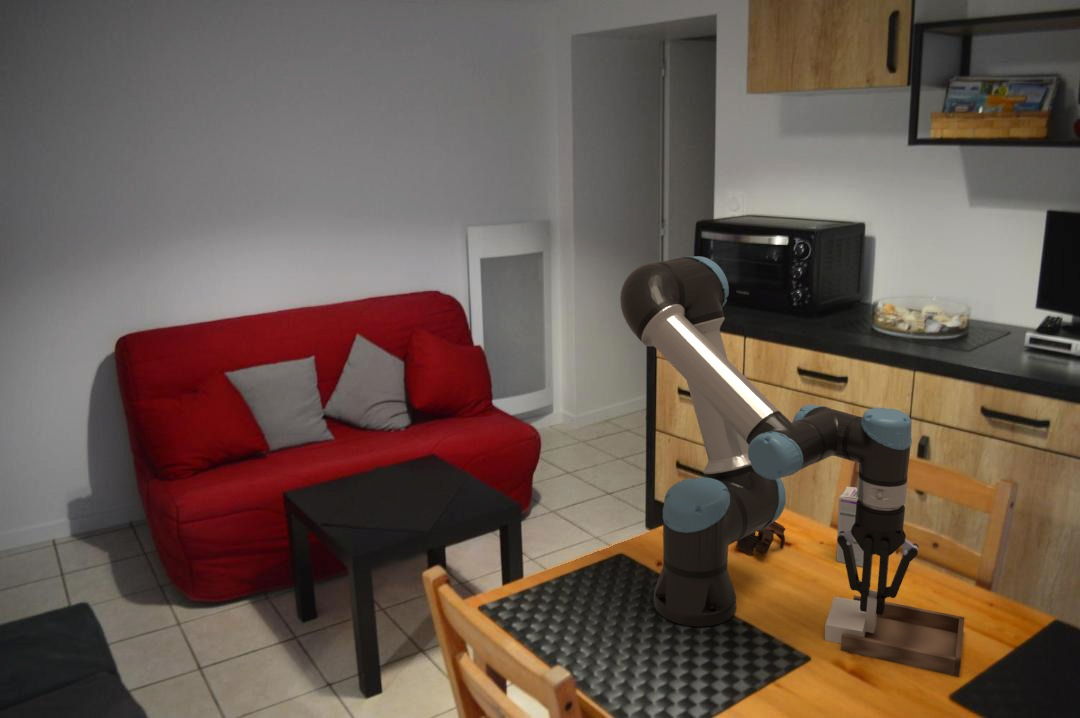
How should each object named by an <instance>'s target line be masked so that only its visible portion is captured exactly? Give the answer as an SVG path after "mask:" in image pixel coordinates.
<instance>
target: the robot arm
mask: <svg viewBox="0 0 1080 718" xmlns="http://www.w3.org/2000/svg"><path fill="white" fill-rule="evenodd" d="M728 282H729V281H728V279H727V277H726V275H725V273H724V271H723V269H722V267H720V266H719V265H718V264H717V263H716V262H715V261H712V260H711V259H709V258H708V257H705V256H698V255H697V256H696V255H695V256H687V255H686V256H683V257H678V258H673V259H668V260H664V261H659V262H652V263H647V264H643V265H640V266H638V267H637V268H635V269H634V270H632V272H631V273H630V274H629V275H627V277H626V279H625V281H624V282H623V284H622V287H621V291H620V297H619V298H620V299H619V301H620V308H621V312H622V313H621V314H622V317H623V318H624V320H625V322H626V324H627V325H628V327H629V329H630V330H631V332H632V333H633V334H634V335H635V337H637V339H638V340H640V341H641V343H642V344H643V345H644V346H647V347H654V348H655V349H656V350H657V351H658V352H659V353H660V355H662V356H663V358H665V359H666V360H667V362H668V363H670V364H671V365H672V366H673V368H674V369H675V370H676V371H677V372H678V373H679V374H680V375H681V376H682V377H683V378H684V379H685V381H686V384H687V388H688V392H689V393H690V398H691V402H692V405H693V409H694V413H695V416H696V420H697V425H698V428H699V430H700V435H701V438H702V442H703V446H704V448H705V453H706V457H707V459H708V461H707V464H706V465H705V467H704V469H703V471H702V472H703V477H701V476H699V477H696V478H694V479H693V478H691V477H689V478H685V479H682V480H679V481H677V482H676V483H674V484H673V485H672V486H670V487H669V488H668V490H666V493H665V494H664V497H663V498H664V499H663V507H662V528H663V529H662V531H663V532H662V537H663V538H662V539H663V540H662V542H663V545H662V546H663V549H662V550H663V551H662V552H663V555H662V556H663V560H662V561H663V564H662V568H661V571H660V574H659V577H658V579H657V582H656V584H655V588H654V591H653V606H654V608H655V611H656V612H657V613H658V614H659V615H660V616H662V617H663V618H664V619H666V620H668V621H671V622H672V623H674V624H675V623H676V624H679V625H681V626H686V627H687V626H688V627H699V628H700V627H701V628H702V627H703V628H704V627H710V626H711V627H712V626H716V625H719V624H723V623H725V622H726V621H729V620H730V619H731V618H733V616H734V615H735V614H736V610H737V594H736V591H735V588H734V586H733V582H732V579H731V576H730V573H729V569H728V558H729V557H728V555H729V554H728V553H729V546H730V545H732V544H734V543H737V541H738V540H740V539H742V538H744V537H746V536H748V535H750V534H752V533H754V532H757V531H760V530H763V529H764V528H766V527H768V526H769V525H770V524H771V523H773V522H774V521H775V522H776V521H777V520H779V518H780V516H782V514H783V512H784V510H785V506H786V501H787V500H786V499H787V498H786V497H787V496H786V495H787V493H786V488H785V486H784V482H783V480H782V478H785V477H788V476H789V477H791V476H792V475H794V474H796V473H798V472H799V471H801V470H804V469H805V468H807V467H809V466H811V465H814V464H816V463H819V462H821V461H823V460H825V459H828V458H830V457H832V456H834V457H837V458H841V459H844V460H848V461H849V462H856V463H858V477H857V478H858V479H857V487H856V488H857V497H858V500H857V502H856V515H855V523H854V525H853V526H852V529H851V530H849V531H847V532H844V531H841V532H840V533H839V535H838V538H836V542H838V543H839V545H840V547H841V548H842V550H843V554H844V560H845V563H844V564H845V569H846V572H847V573H846V574H847V579H848V584H849V588H850V590H852V591H856V592H858V593H859V594H860V597H861V599H860V610H861V611H864V612H866V624H865V632H870V633H874V631H875V627H876V619H877V614H879V615H882V614H883V612H884V607H885V602H886V599H887V598H891V599H895V598H896V597H897V595H898V593H899V591H900V587H901V585H902V583H903V580H904V578H905V575H906V574H907V570H908V567H909V566H910V563H911V562H912V561H913V560H914V559H915V558H916V557H917V556H918V553H919V550H920V549H919V544H917V543H914V542H913V543H912V542H911V541H910V540H908V539H907V535H906V533H905V531H904V523H905V522H904V521H905V510H906V508H905V505H906V503H907V502H906V501H907V491H908V481H909V480H908V476H909V475H908V473H909V472H908V471H909V464H910V463H909V462H910V455H911V447H912V445H913V441H912V424H913V423H912V419H911V417H910V416H909V415H908V414H907V413H905V412H904V411H902V410H898V409H895V408H886V407H874V408H869V409H867V410H865V412H863V415H862V416H859V415H856V414H852V413H847V412H845V411H840V410H837V409H833V408H831V407H828V406H825V405H817V404H806V405H803V406H801V408H800V409H799V410H798V411H797V412H796V413H795V415H794V416H793V419H792V422H791V420H790V419H788V418H787V417H786V416H785V414H783V413H782V412H781V411H780V410H779V409H778V408H777V407H776V406H775V405H774V404H773V402H771V401H770V400H769V399H768V398H767V397H766V396H765V395H764V394H763V393H762V392H761V391H760V390H759V389H758V388H757V387H756V386H755V385H754V384H753V383H752V382H751V381H750V380H749V379H748V378H747V377H746V376H745V375H744V374H743V373H742V372H741V371H740V370H739V369H738V368H737V367H736V366H735V365H734V364H732V361H730V360H729V359H728V355H727V353H726V349H725V345H724V342H723V337H722V334H721V330H720V329H721V326H722V324H723V322H724V321H725V315H724V310H723V308H724V306H725V305H726V303H727V301H728V299H727V298H728V297H729V293H730V291H729V290H730V289H729V288H730V287H729V283H728ZM853 537H854V539H855V540H856V542H857V543H858V545H859V546H860V548H861V549H862V550H863V551H864V555H863V567H862V573H861V581H860V578H859V572H858V566H856V561H855V556H854V551H853V546H852V543H853ZM901 546H902V549H901V553H902V556H901V559H900V561H899V564H898V567H897V569H896V571H895V573H894V576H893V579H892V581H891V584H890V585H889V586H887V585H888V584H887V583H888V572H889V571H888V570H889V559H890V556H891V555H892V554H894V553H895V552H896V551H897V550H898V549H899V548H900V547H901ZM874 555H877V556H879V560H878V561H879V566H878V578H877V580H878V581H877V590H871V579H872V568H873V558H874Z"/></svg>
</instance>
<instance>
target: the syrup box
mask: <svg viewBox="0 0 1080 718" xmlns="http://www.w3.org/2000/svg"><path fill="white" fill-rule="evenodd" d="M857 488H858V487H857V486H856V487H855V486H846V487H845V489H844V490H843V491H842V492H841V493H840V495H839V496H838V513H837V515H838V516H837V538H838V535H839V533H840V532H841V531H844V532H847V531H849V530H851V529H852V526H853V525H854V523H855V515H856V502H857V500H858V497H857ZM837 538H836V539H837ZM836 542H837V541H836ZM852 546H853V551H854V556H855V561H856V567H859V568H860V567H861V568H863V555H864V551H863V550H862V549H861V548H860V546H859V545H858V543H857V542H856V540H855V539H854V537H853V543H852ZM836 561H837V562H838V563H842V564H845V560H844V554H843V550H842V548H841V547H840V545H839V543H838V542H837V543H836Z"/></svg>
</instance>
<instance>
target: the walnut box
mask: <svg viewBox="0 0 1080 718" xmlns="http://www.w3.org/2000/svg"><path fill="white" fill-rule="evenodd" d="M860 599H861V596H859V595H853V598H852V600H857V601H860ZM964 629H965V617H964V616H960V615H956V614H950V613H945V612H941V611H936V610H930V609H924V608H920V607H916V606H910V605H906V604H905V605H904V604H900V603H895V602H891V601H890V602H889V601H885V607H884V612H883V614H882V615H879V614H877V619H876V627H875V631H874V633H870V632H866V633H865V637H859V636H854V635H850V634H845V633H842V637H841V643H840V651H841V652H846V653H851V654H855V655H860V656H863V657H869V658H871V659H877V660H882V661H886V662H890V663H895V664H900V665H904V666H909V667H913V668H918V669H922V670H926V671H932V672H936V673H940V674H944V675H947V676H952V677H953V676H954V677H958V678H959V677H960V675H961V664H962V653H963V652H962V651H963V642H964Z"/></svg>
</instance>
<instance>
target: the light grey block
mask: <svg viewBox="0 0 1080 718" xmlns="http://www.w3.org/2000/svg"><path fill="white" fill-rule="evenodd" d="M865 624H866V612H864V611H861V610H860V601H857V600H853V598H852V599H851V598H846V597H845V598H844V597H838V596H834V597H833V600H832V603H831V606H830V609H829V612H828V615H827V618H826V621H825V624H824V641H827V642H832V643H836V644H841V637H842V633H845V634H850V635H854V636H859V637H865V633H866V632H865Z"/></svg>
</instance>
